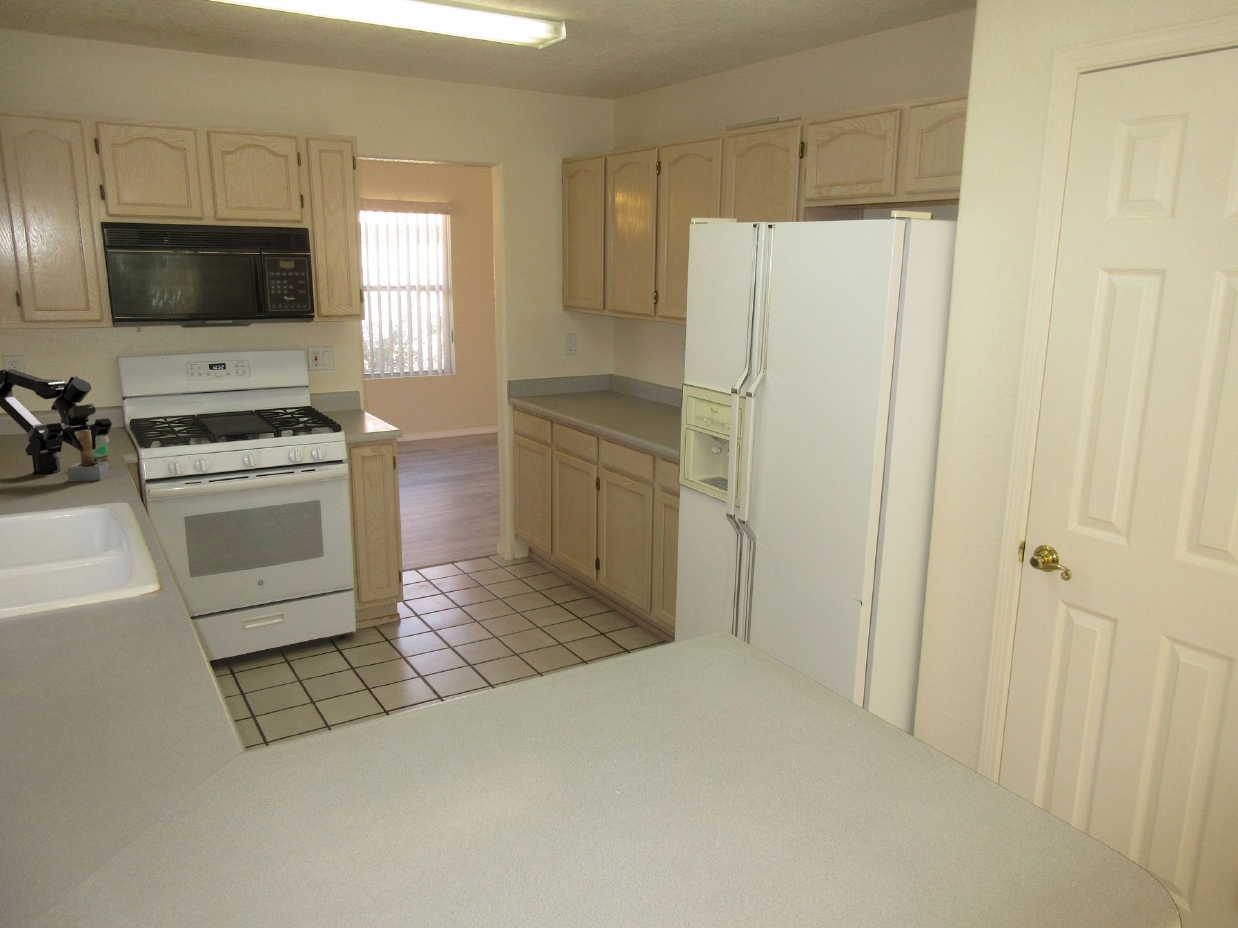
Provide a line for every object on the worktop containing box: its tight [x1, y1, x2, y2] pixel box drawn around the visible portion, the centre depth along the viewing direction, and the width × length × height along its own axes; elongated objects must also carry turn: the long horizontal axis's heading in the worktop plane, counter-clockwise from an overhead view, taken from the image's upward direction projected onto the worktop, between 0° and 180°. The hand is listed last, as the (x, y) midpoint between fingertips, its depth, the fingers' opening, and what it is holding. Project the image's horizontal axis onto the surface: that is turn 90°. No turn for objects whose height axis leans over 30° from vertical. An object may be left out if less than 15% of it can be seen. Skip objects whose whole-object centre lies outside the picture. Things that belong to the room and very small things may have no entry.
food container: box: [77, 434, 110, 462], centre depth 301 cm, size 12×6×10 cm, turn 179°
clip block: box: [66, 461, 111, 483], centre depth 279 cm, size 9×9×4 cm
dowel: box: [77, 430, 94, 466], centre depth 278 cm, size 4×4×12 cm
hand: (88, 449), depth 277 cm, fingers closed on dowel, 3 cm apart
